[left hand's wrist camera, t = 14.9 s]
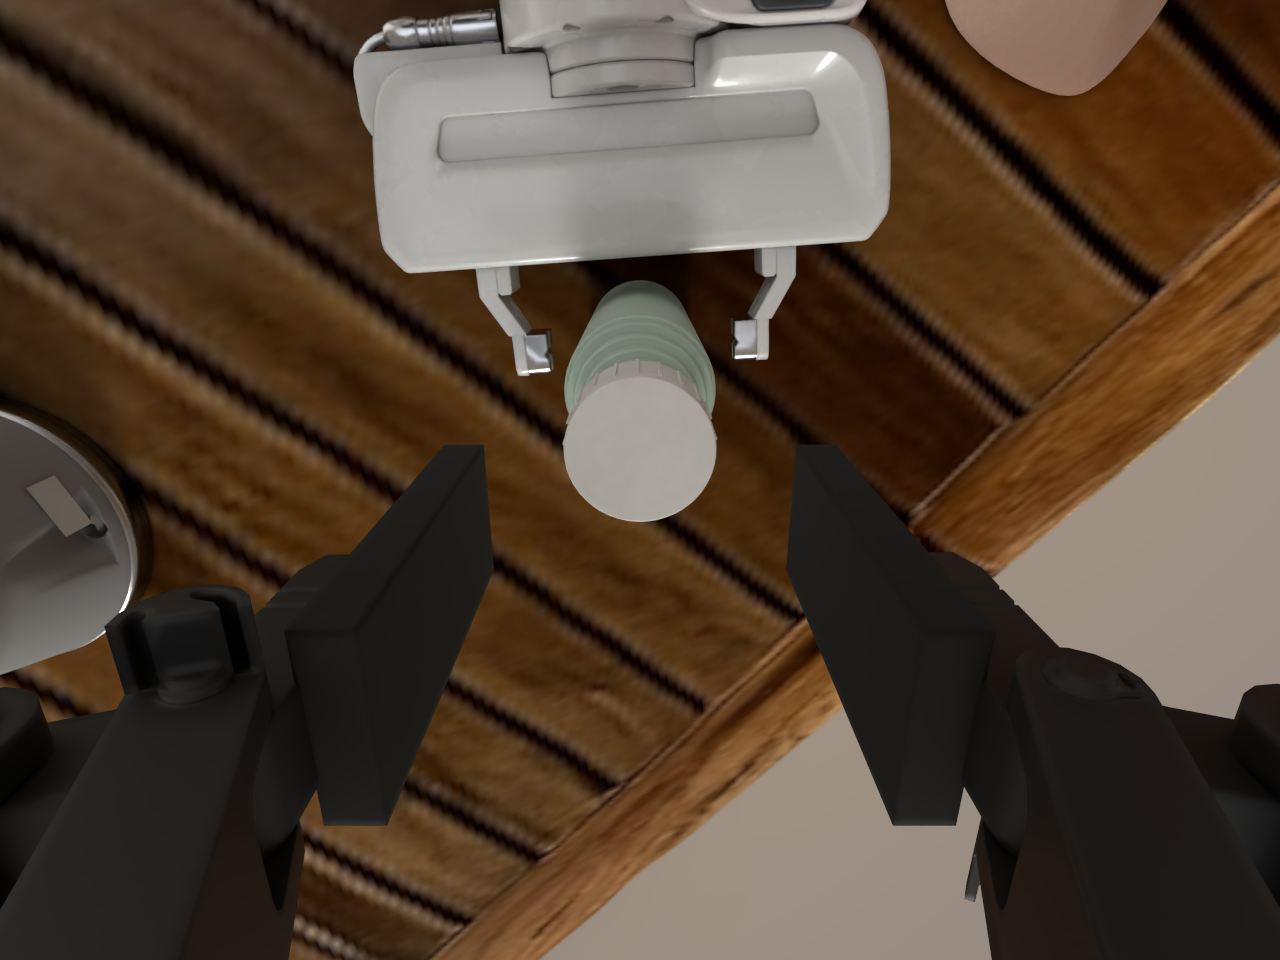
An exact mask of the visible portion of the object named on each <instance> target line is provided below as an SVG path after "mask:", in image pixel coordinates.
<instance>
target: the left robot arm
mask: <svg viewBox="0 0 1280 960" xmlns="http://www.w3.org/2000/svg"><path fill="white" fill-rule="evenodd" d="M152 565H153V543H152V537H151V531H150V527H149V524H148V520H147V517H146V515H145V512H144V509H143V507H142V505H141V503H140V501H139V499H138V497H137V495H136V493H135V491H134V490H133V488H132V486H131V485H130V483H129V482H128V480H127V479H126V478H125V476H124V475H123V473H122V472H121V471H120V470H119V468H118V467H117V466H116V465H115V464H114V463H113V461H112V460H111V459H110V458H109V457H108V456H107V455H106V454H105V453H104V452H103V451H102V450H101V449H100V448H98V447H97V446H96V445H95V444H94V443H93V442H91V441H90V440H89V439H88V438H86V437H85V436H84V435H82V434H81V433H80V432H78V431H77V430H75V429H74V428H72V427H71V426H69V425H67V424H66V423H64V422H63V421H61V420H59V419H57V418H55V417H53V416H51V415H49V414H47V413H45V412H43V411H40V410H38V409H36V408H33V407H30V406H27V405H24V404H21V403H18V402H14V401H10V400H6V399H0V675H1V674H4V673H7V672H10V671H13V670H16V669H18V668H21V667H24V666H27V665H30V664H33V663H36V662H39V661H42V660H44V659H47V658H50V657H53V656H56V655H59V654H62V653H65V652H69V651H72V650H75V649H78V648H80V647H82V646H85V645H87V644H88V643H90V642H92V641H94V640H95V639H97V638H98V637H99V636H101V635H102V634H104V633H105V632H106V635H107V638H108V641H109V644H110V648H111V651H112V654H113V657H114V661H115V664H116V667H117V670H118V673H119V677H120V680H121V683H122V686H123V689H124V693H125V696H124V697H123V699H122V701H121V702H120V704H119V706H118V708H117V709H116V710H112V711H106V712H101V713H96V714H91V715H85V716H80V717H75V718H70V719H64V720H59V721H54V722H49V723H47V721H46V719H45V716H44V713H43V710H42V708H41V705H40V702H39V699H38V697H37V696H36V695H34V694H33V693H31V692H30V691H28V690H27V689H19V688H8V687H3V688H0V960H288V959H289V952H290V946H291V939H292V933H293V926H294V919H295V913H296V906H297V900H298V893H299V886H300V880H301V873H302V867H303V860H304V854H305V848H304V840H303V834H302V830H301V825H300V821H299V819H300V817H301V815H302V814H303V812H304V810H305V808H306V807H307V805H308V803H309V801H310V800H311V798H312V796H313V794H314V793H315V791H316V789H317V793H318V798H319V803H320V808H321V813H322V818H323V822H324V826H387V824H388V822H389V819H390V817H391V815H392V812H393V810H394V807H395V805H396V803H397V800H398V798H399V796H400V793H401V791H402V788H403V786H404V784H405V781H406V779H407V776H408V774H409V772H410V769H411V767H412V764H413V762H414V760H415V757H416V755H417V752H418V750H419V748H420V745H421V743H422V740H423V738H424V736H425V733H426V731H427V728H428V726H429V724H430V721H431V719H432V716H433V714H434V712H435V709H436V707H437V705H438V702H439V700H440V697H441V695H442V693H443V690H444V688H445V685H446V683H447V681H448V678H449V676H450V673H451V671H452V669H453V666H454V664H455V661H456V659H457V657H458V654H459V652H460V649H461V647H462V645H463V642H464V640H465V637H466V635H467V633H468V630H469V628H470V625H471V623H472V621H473V618H474V616H475V613H476V611H477V609H478V606H479V604H480V602H481V599H482V597H483V594H484V592H485V590H486V587H487V585H488V582H489V580H490V578H491V575H492V573H493V570H494V566H493V554H492V542H491V530H490V517H489V505H488V493H487V481H486V469H485V457H484V445H444V446H443V448H442V449H441V450H440V451H439V452H438V453H437V454H436V456H435V457H434V458H433V459H432V460H431V461H430V463H429V464H428V465H427V466H426V467H425V468H424V469H423V471H422V472H421V473H420V474H419V475H418V476H417V478H416V479H415V480H414V481H413V482H412V483H411V484H410V486H409V487H408V488H407V489H406V490H405V491H404V493H403V494H402V495H401V496H400V497H399V498H398V499H397V501H396V502H395V503H394V504H393V505H392V506H391V508H390V509H389V510H388V511H387V512H386V513H385V515H384V516H383V517H382V518H381V519H380V520H379V521H378V523H377V524H376V525H375V526H374V527H373V528H372V530H371V531H370V532H369V533H368V534H367V535H366V536H365V538H364V539H363V540H362V541H361V542H360V543H359V545H358V546H357V547H356V548H355V549H354V550H353V551H352V553H351V554H350V555H326V556H324V557H322V558H321V559H319V560H317V561H315V562H313V563H311V564H310V565H308V566H306V567H304V568H302V569H301V570H299V571H298V572H297V573H296V574H295V575H294V576H293V577H292V578H291V579H290V580H289V581H288V582H287V583H286V584H285V585H284V586H283V587H282V588H281V592H277V593H276V594H275V595H274V597H273V598H272V599H271V600H270V601H269V602H268V603H267V604H266V608H262V609H261V610H260V611H259V612H258V613H257V614H256V615H255V616H254V614H253V609H252V605H251V600H250V596H249V594H247V593H246V592H244V591H243V590H241V589H240V588H237V587H232V586H226V585H203V586H193V587H188V588H183V589H178V590H173V591H168V592H165V593H163V594H160V595H157V596H154V597H151V598H148V599H145V600H143V601H140V599H141V597H142V596H143V594H144V592H145V590H146V588H147V585H148V582H149V579H150V576H151V571H152ZM786 570H787V573H788V575H789V578H790V580H791V582H792V585H793V587H794V590H795V592H796V594H797V597H798V599H799V602H800V604H801V606H802V609H803V611H804V613H805V616H806V618H807V621H808V623H809V625H810V628H811V630H812V633H813V635H814V637H815V640H816V642H817V645H818V647H819V649H820V652H821V654H822V657H823V659H824V661H825V664H826V666H827V669H828V671H829V673H830V676H831V678H832V681H833V683H834V685H835V688H836V690H837V693H838V695H839V697H840V700H841V702H842V705H843V707H844V709H845V712H846V714H847V716H848V719H849V721H850V724H851V726H852V728H853V731H854V733H855V736H856V738H857V740H858V743H859V745H860V748H861V750H862V752H863V755H864V757H865V760H866V762H867V764H868V767H869V769H870V772H871V774H872V776H873V779H874V781H875V784H876V786H877V788H878V791H879V793H880V796H881V798H882V800H883V803H884V805H885V807H886V810H887V812H888V815H889V817H890V819H891V822H892V824H893V825H894V826H900V825H901V826H915V825H916V826H940V825H941V826H955V825H956V822H957V817H958V813H959V808H960V803H961V798H962V793H963V789H964V787H965V789H966V791H967V792H968V794H969V796H970V798H971V799H972V801H973V803H974V805H975V806H976V808H977V810H978V812H979V813H980V815H981V821H980V825H979V830H978V834H977V839H976V843H975V848H974V852H973V857H972V861H971V866H970V870H969V875H968V879H967V884H966V891H965V899H966V900H969V901H973V902H975V899H976V894H977V890H978V886H979V885H981V891H982V898H983V904H984V911H985V918H986V924H987V931H988V937H989V944H990V950H991V957H992V960H1280V684H1269V685H1257V686H1254V687H1253V688H1251V689H1249V690H1248V691H1246V692H1245V693H1244V694H1243V697H1242V699H1241V702H1240V705H1239V708H1238V710H1237V713H1236V716H1235V719H1229V718H1223V717H1218V716H1212V715H1207V714H1202V713H1197V712H1192V711H1186V710H1181V709H1176V708H1170V707H1166V706H1162V705H1161V703H1160V701H1159V699H1158V698H1157V696H1156V694H1155V693H1154V692H1153V691H1152V690H1151V688H1150V687H1149V686H1148V685H1147V684H1146V683H1145V682H1144V681H1143V680H1142V679H1141V678H1140V677H1138V676H1137V675H1135V674H1134V673H1132V672H1130V671H1129V670H1127V669H1126V668H1124V667H1123V666H1121V665H1119V664H1117V663H1114V662H1112V661H1110V660H1107V659H1105V658H1102V657H1100V656H1098V655H1095V654H1091V653H1087V652H1083V651H1079V650H1075V649H1071V648H1060V647H1059V646H1058V645H1057V644H1056V643H1055V642H1054V641H1053V640H1052V639H1051V638H1050V637H1049V636H1048V635H1047V634H1046V633H1045V632H1044V631H1043V630H1042V629H1041V628H1040V627H1039V626H1038V625H1037V624H1036V623H1035V622H1034V621H1033V620H1032V619H1031V618H1030V617H1029V616H1028V615H1027V614H1026V613H1025V612H1024V611H1023V610H1022V609H1021V608H1020V607H1019V606H1018V605H1014V600H1013V599H1012V598H1011V597H1010V596H1009V595H1008V594H1007V593H1006V592H1005V591H1004V590H1000V589H999V585H998V584H997V583H996V582H995V581H994V580H993V579H992V578H991V577H990V576H989V575H988V574H987V573H986V572H985V571H984V570H983V569H982V568H981V567H979V566H977V565H975V564H973V563H972V562H970V561H968V560H966V559H964V558H962V557H961V556H959V555H957V554H955V553H953V552H928V551H927V550H926V549H925V548H924V547H923V546H922V545H921V543H920V542H919V541H918V540H917V539H916V538H915V536H914V535H913V534H912V533H911V532H910V531H909V530H908V528H907V527H906V526H905V525H904V524H903V523H902V521H901V520H900V519H899V518H898V517H897V516H896V515H895V513H894V512H893V511H892V510H891V509H890V508H889V506H888V505H887V504H886V503H885V502H884V501H883V500H882V498H881V497H880V496H879V495H878V494H877V493H876V491H875V490H874V489H873V488H872V487H871V486H870V484H869V483H868V482H867V481H866V480H865V479H864V478H863V476H862V475H861V474H860V473H859V472H858V471H857V469H856V468H855V467H854V466H853V465H852V464H851V463H850V461H849V460H848V459H847V458H846V457H845V456H844V454H843V453H842V452H841V451H840V450H839V449H838V448H837V446H836V445H796V457H795V469H794V481H793V493H792V505H791V517H790V530H789V542H788V554H787V566H786ZM139 601H140V602H139Z"/></svg>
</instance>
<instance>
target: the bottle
mask: <svg viewBox="0 0 1280 960" xmlns="http://www.w3.org/2000/svg"><path fill="white" fill-rule="evenodd" d="M636 359H639V361H649V362H655V363H657V362H658V361H659V362H661V364H663V365H665V366H668V367H670V368H672V369H674V370H676V371H677V370H680V371H681V374H682V375H683V376H685V377H686V378H687V379H688V380H689V381H690V382H691V383H692V384H694V383H695V384H696V386H697V389H698V392H699V394H700V395H701V397H702V399H703V401H704V402H705V401H706V403H707V405H708V408H709V411H710V413H712V410H713V406H714V401H715V388H716V385H715V377H714V372H713V368H712V365H711V363H710V360H709V358H708V356H707V354H706V352H705V350H704V348H703V346H702V343H701V341H700V339H699V337H698V335H697V333H696V331H695V329H694V327H693V325H692V323H691V321H690V319H689V317H688V315H687V313H686V311H685V309H684V307H683V306H682V304H681V302H680V301H679V299H678V298H677V297H676V296H675V295H674V294H673V293H672V292H671V291H670V290H668V289H667V288H665V287H664V286H662V285H660V284H657V283H655V282H651V281H644V280H635V281H629V282H626V283H623V284H620V285H618V286H616V287H615V288H613V289H612V290H610V291H609V292H608V293H607V294H606V295H605V296H604V297H603V298H602V299H601V301H600V302H599V304H598V305H597V307H596V309H595V311H594V313H593V315H592V317H591V319H590V322H589V324H588V326H587V328H586V330H585V332H584V334H583V336H582V338H581V340H580V342H579V344H578V346H577V348H576V350H575V352H574V354H573V356H572V358H571V360H570V363H569V365H568V368H567V372H566V377H565V387H564V391H565V401H566V406H567V410H568V413H570V411H571V408H572V406H574V407H575V404H576V401H577V398H578V396H579V393H580V390H581V388H582V387H583V388H585V386H586V385H587V384H588V383H589V382H590V381H591V380H592V379H593V378H594V377H595V374H596V373H597V372H598V373H601V372H603V371H604V370H606V369H608V368H610V367H612V366H614V363H617V364H621V363H624V362H631V361H636Z"/></svg>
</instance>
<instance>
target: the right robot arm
mask: <svg viewBox="0 0 1280 960" xmlns="http://www.w3.org/2000/svg"><path fill="white" fill-rule="evenodd" d="M499 2H500V5H499V6H498V8H495V9H482V10H475V11H463V12H455V13H451V15H450V14H446V15H444V16H443V15H441V16H437V17H430V18H418V17H417V16H401V17H396V18H392V19H389V20H386V21H384V22H383V25H382V31H380V32H378V33H376V34H374V35H372V36H371V37H370V38H368V39H367V40H366V41H365V42H364V44H363V45H362V47H361V48H360V50H359V52H358V54H357V57H356V58H355V61H354V81H355V86H356V91H357V97H358V102H359V108H360V113H361V117H362V120H363V123H364V125H365V128H366V130H367V131H368V133H369V134H370V136H371V137H372V138H373V167H374V185H375V196H376V206H377V215H378V223H379V231H380V236H381V242H382V246H383V248H384V250H385V252H386V253H387V255H388V256H389V257H390V258H391V259H392V260H393V261H394V262H395V263H396V264H397V265H398V266H399V267H400V268H401V269H403V270H404V271H405V272H407V273H421V272H435V271H449V270H463V269H476V275H477V282H478V288H479V295H480V298H481V300H482V301H483V302H484V304H485V305H486V306H487V308H488V309H489V310H490V312H491V313H492V314H493V316H494V317H495V318H496V320H497V321H498V322H499V324H500V325H501V326H502V328H503V329H504V330H505V332H506V333H507V334H508V336H512V341H513V348H514V356H515V363H516V370H517V373H518V375H519V376H529V375H538V374H550V373H552V370H554V353H553V352H552V351H551V350H550V347H551V345H552V336H551V329H533V328H532V327H531V325H530V324H529V322H528V321H527V319H526V318H525V317H524V315H523V314H522V312H521V311H520V309H519V308H518V306H517V305H516V303H515V302H514V301H513V299H512V298H511V296H510V295H511V294H512V293H514V292H516V291H518V290H519V289H520V280H519V271H518V266H519V265H533V264H547V263H560V262H574V261H588V260H602V259H616V258H630V257H644V256H658V255H672V254H686V253H700V252H713V251H727V250H741V249H754V264H755V272H756V273H758V274H760V275H762V276H764V277H766V278H765V280H764V282H763V284H762V286H761V288H760V290H759V292H758V294H757V296H756V298H755V300H754V302H753V304H752V306H751V308H750V309H749V311H748V315H737V316H730V332H731V333H732V334H733V337H732V339H731V340H730V350H731V357H732V358H733V360H734V361H746V360H762V359H768V354H769V318H772V317H773V315H774V313H775V311H776V310H777V308H778V306H779V304H780V303H781V301H782V299H783V297H784V295H785V294H786V292H787V290H788V288H789V287H790V285H791V283H792V281H793V279H794V278H795V276H796V246H797V245H811V244H825V243H839V242H852V241H863V240H866V239H868V238H869V237H870V236H871V235H872V234H873V233H874V231H875V230H876V229H877V228H878V226H879V225H880V223H881V222H882V220H883V219H884V218H885V216H886V214H887V211H888V208H889V199H890V179H891V151H890V125H889V111H888V99H887V88H886V81H885V75H884V71H883V67H882V63H881V60H880V58H879V55H878V53H877V51H876V49H875V47H874V46H873V44H872V43H871V42H870V41H869V39H868V38H867V37H866V36H865V35H863V34H862V33H861V32H859V31H858V30H856V29H854V28H852V27H850V25H851V24H852V22H853V21H854V20H855V19H856V17H857V16H858V15H859V13H860V12H861V10H862V8H863V7H864V5H865V3H866V0H499ZM503 41H504V45H503ZM385 43H386V45H387V47H388V49H390V50H393V51H383V52H373V51H374V50H375V49H377V48H378V47H379V46H381V45H383V44H385ZM435 46H436V47H435ZM441 46H443V47H441ZM430 47H433V48H430ZM505 53H506V54H505Z"/></svg>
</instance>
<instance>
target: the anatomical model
mask: <svg viewBox="0 0 1280 960" xmlns="http://www.w3.org/2000/svg"><path fill="white" fill-rule="evenodd" d="M945 2H946V6H947V8H948V11H949V14H950V16H951V18H952V20H953V22H954V24H955V25H956V27H957V29H958V31H959V32H960V33H961V34H962V36H963V37H964V38H965V40H966V41H967V42H968V43H969V44H970V45H971V46H972V47H973V48H974V49H975V50H976V51H977V52H978V53H979V54H980V55H981V56H983V57H984V58H985V59H987V60H988V61H989V62H991V63H992V64H993V65H994V66H996V67H998V68H999V69H1001V70H1003V71H1004V72H1006V73H1008V74H1009V75H1011V76H1012V77H1014V78H1016V79H1018V80H1020V81H1022V82H1024V83H1026V84H1028V85H1030V86H1032V87H1035V88H1037V89H1040V90H1043V91H1045V92H1048V93H1052V94H1056V95H1065V96H1071V95H1078V94H1081V93H1084V92H1086V91H1088V90H1090V89H1091V88H1093V87H1094V86H1096V85H1097V84H1098V83H1100V82H1101V81H1102V80H1103V79H1104V78H1105V77H1106V76H1107V75H1108V74H1109V73H1110V72H1111V71H1112V70H1113V69H1114V68H1115V67H1116V66H1117V65H1118V64H1119V63H1120V62H1121V60H1122V59H1123V58H1124V57H1125V56H1126V54H1127V53H1128V52H1129V51H1130V50H1131V48H1132V47H1133V46H1134V45H1135V44H1136V42H1137V41H1138V40H1139V39H1140V38H1141V36H1142V35H1143V34H1144V33H1145V32H1146V30H1147V29H1148V28H1149V27H1150V25H1151V24H1152V23H1153V21H1154V20H1155V18H1156V17H1157V15H1158V14H1159V12H1160V11H1161V9H1162V8H1163V6H1164V5H1165V3H1166V2H1167V0H945Z"/></svg>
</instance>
